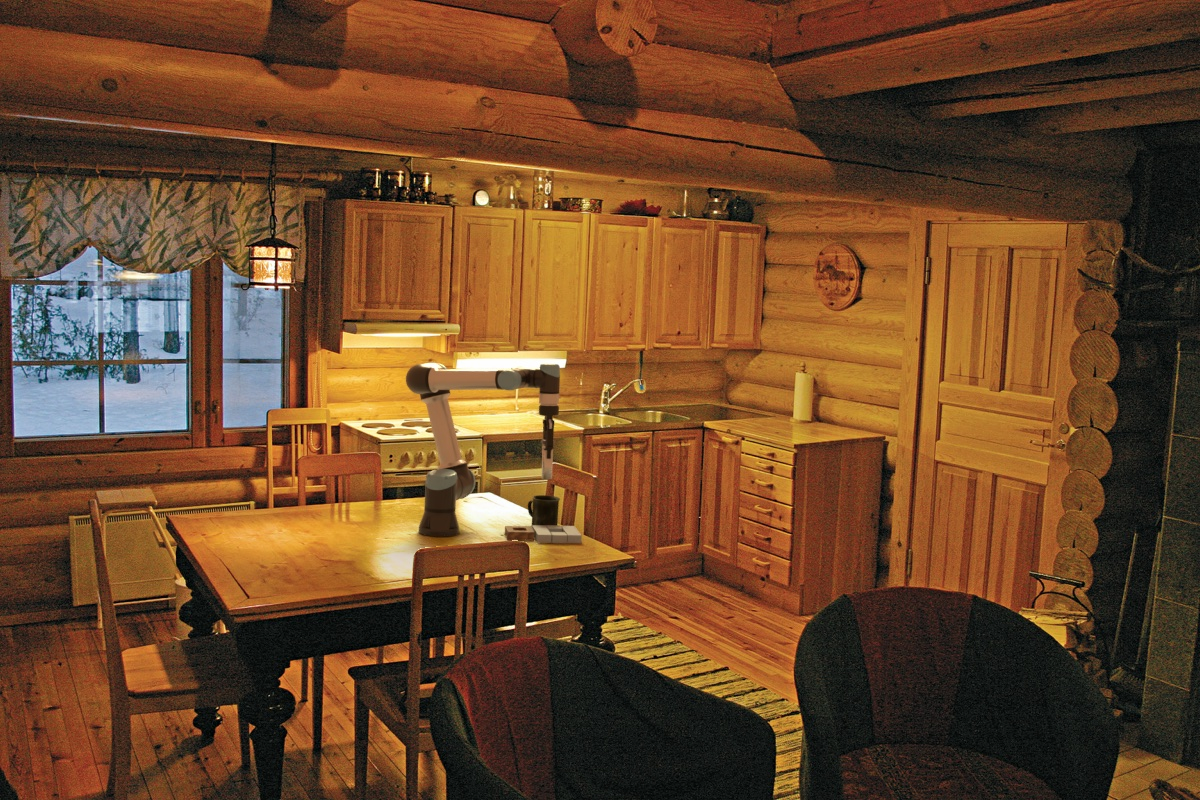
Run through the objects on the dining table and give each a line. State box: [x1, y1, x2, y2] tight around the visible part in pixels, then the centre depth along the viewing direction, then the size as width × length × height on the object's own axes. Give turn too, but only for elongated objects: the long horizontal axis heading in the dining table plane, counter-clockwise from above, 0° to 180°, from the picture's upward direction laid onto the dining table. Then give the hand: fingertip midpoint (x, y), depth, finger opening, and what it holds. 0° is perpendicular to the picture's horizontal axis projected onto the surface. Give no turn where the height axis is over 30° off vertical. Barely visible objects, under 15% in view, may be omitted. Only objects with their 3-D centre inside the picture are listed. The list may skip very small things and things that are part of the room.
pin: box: [540, 438, 556, 480], centre depth 403 cm, size 5×5×15 cm
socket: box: [531, 524, 582, 544], centre depth 407 cm, size 17×17×3 cm
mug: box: [527, 494, 561, 526], centre depth 424 cm, size 11×15×12 cm
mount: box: [504, 525, 535, 541], centre depth 405 cm, size 10×10×3 cm
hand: (547, 466), depth 403 cm, fingers closed on pin, 4 cm apart
